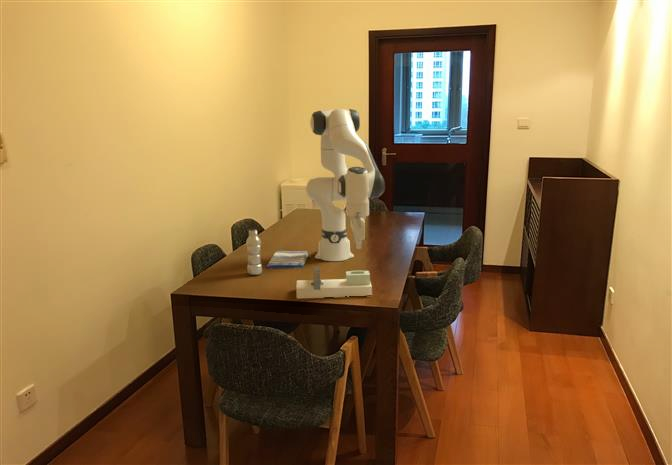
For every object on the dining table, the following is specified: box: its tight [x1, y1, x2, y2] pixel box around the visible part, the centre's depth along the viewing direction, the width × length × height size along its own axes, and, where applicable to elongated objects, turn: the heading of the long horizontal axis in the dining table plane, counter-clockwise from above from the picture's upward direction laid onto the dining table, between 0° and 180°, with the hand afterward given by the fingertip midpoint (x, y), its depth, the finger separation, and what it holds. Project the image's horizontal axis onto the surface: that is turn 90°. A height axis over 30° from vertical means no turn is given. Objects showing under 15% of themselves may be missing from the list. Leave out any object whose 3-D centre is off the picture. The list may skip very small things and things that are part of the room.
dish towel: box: [266, 250, 310, 269], centre depth 255 cm, size 17×24×3 cm
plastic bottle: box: [245, 228, 263, 276], centre depth 234 cm, size 6×7×20 cm
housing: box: [295, 278, 373, 300], centre depth 211 cm, size 10×29×4 cm, turn 93°
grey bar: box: [312, 265, 322, 290], centre depth 210 cm, size 3×20×4 cm, turn 2°
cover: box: [345, 269, 371, 285], centre depth 211 cm, size 5×9×5 cm, turn 93°
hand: (357, 245), depth 208 cm, fingers open, 8 cm apart
